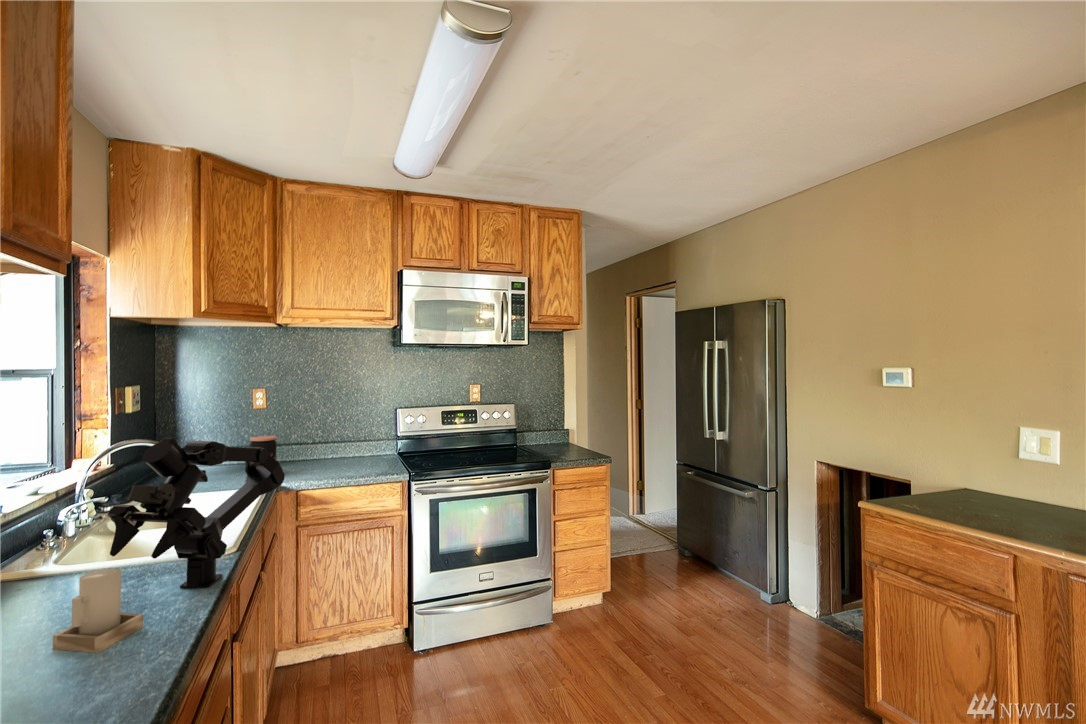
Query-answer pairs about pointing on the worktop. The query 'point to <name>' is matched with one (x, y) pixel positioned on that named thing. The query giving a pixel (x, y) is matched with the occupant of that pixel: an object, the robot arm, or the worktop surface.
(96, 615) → the jug
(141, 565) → the worktop surface
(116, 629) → the holder
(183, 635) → the worktop surface
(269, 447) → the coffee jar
